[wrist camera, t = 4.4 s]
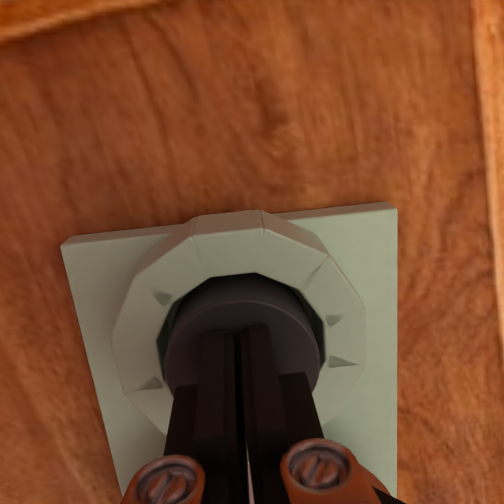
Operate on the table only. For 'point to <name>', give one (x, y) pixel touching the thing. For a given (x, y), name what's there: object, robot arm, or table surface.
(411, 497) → the table surface
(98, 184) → the table surface
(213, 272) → the scale
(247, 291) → the button
